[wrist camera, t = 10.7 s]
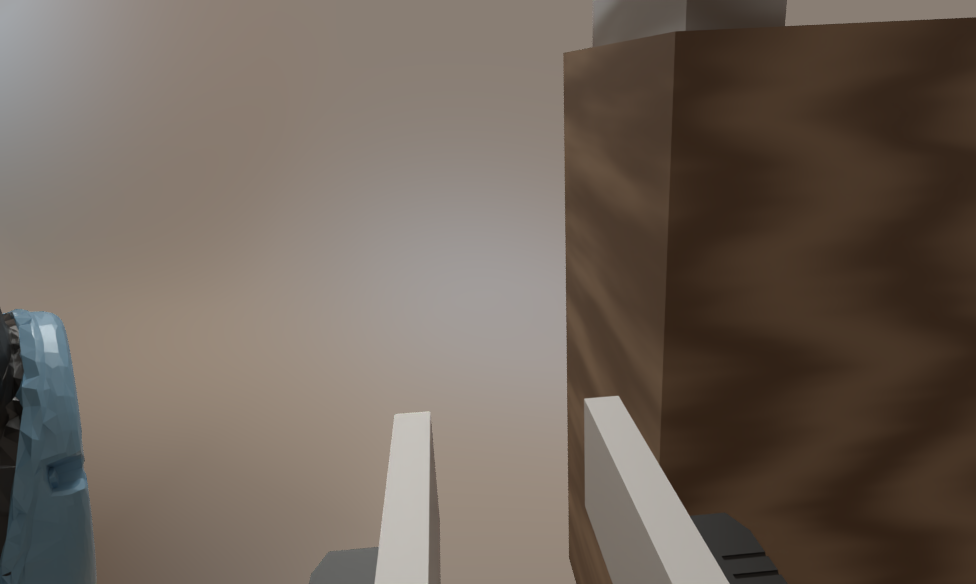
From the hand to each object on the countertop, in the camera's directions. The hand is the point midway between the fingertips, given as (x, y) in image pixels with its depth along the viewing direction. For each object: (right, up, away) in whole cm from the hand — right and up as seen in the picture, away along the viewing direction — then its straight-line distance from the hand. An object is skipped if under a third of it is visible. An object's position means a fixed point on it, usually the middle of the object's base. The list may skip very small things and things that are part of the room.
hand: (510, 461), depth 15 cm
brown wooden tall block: (+13, -15, +20) cm, 29 cm away
